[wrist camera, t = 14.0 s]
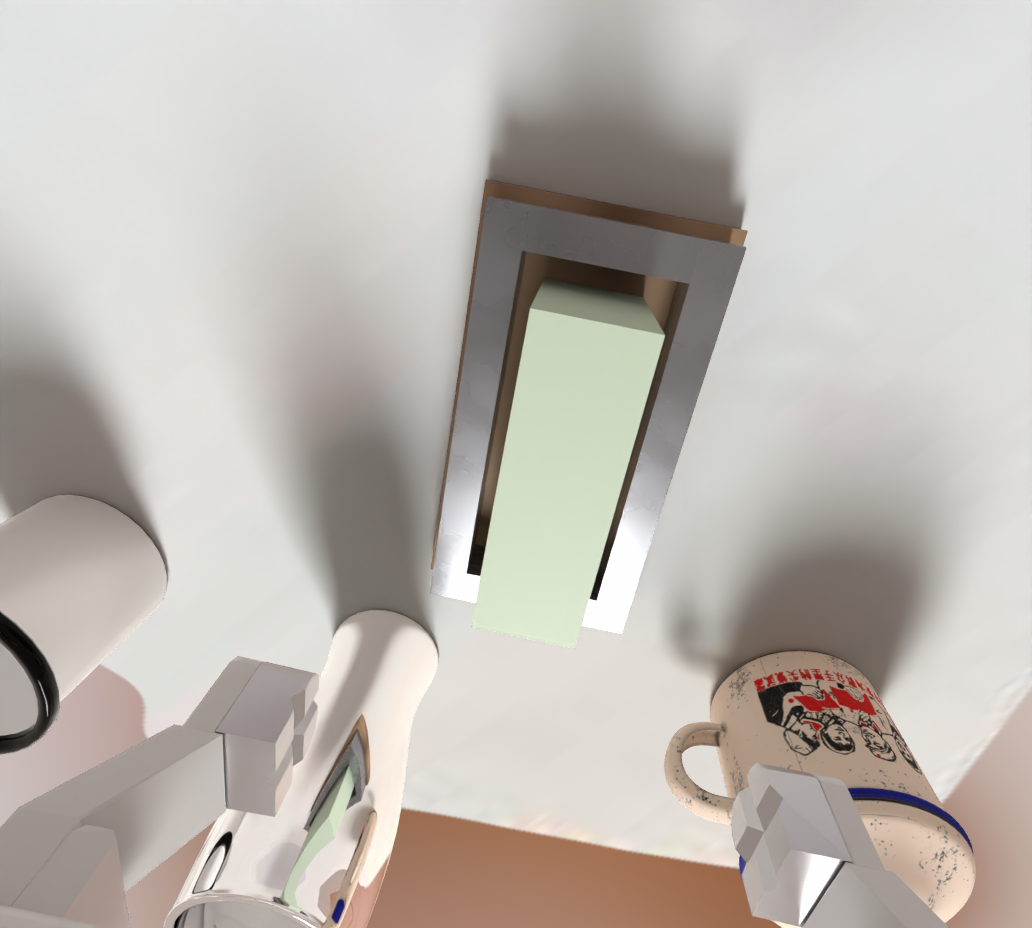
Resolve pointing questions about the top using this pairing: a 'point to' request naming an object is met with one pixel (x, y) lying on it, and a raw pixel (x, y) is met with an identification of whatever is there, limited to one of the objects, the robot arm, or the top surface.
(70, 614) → the mug
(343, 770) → the white tumbler
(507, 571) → the green bar
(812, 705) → the teacup with lid
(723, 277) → the locating frame
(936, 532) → the top surface
